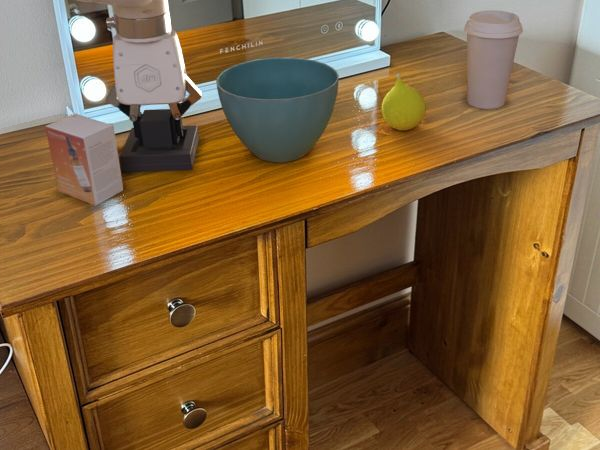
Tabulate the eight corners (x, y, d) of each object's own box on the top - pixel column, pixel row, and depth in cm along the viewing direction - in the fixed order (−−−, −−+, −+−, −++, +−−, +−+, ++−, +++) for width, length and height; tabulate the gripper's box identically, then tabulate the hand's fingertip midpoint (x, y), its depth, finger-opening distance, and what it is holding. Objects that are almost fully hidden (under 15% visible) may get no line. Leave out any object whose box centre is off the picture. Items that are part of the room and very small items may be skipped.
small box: (57, 192, 111) (43, 125, 105) (87, 177, 114) (74, 111, 109) (95, 207, 107) (82, 138, 101) (125, 190, 110) (113, 123, 105)
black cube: (173, 147, 117) (169, 120, 115) (143, 148, 117) (139, 121, 115) (176, 135, 121) (173, 108, 118) (148, 136, 121) (144, 109, 118)
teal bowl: (214, 135, 126) (207, 64, 120) (321, 121, 130) (319, 51, 123) (234, 185, 111) (227, 106, 104) (354, 167, 114) (354, 90, 108)
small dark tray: (192, 170, 115) (190, 153, 114) (122, 172, 115) (119, 156, 114) (199, 140, 125) (197, 125, 123) (134, 142, 125) (131, 127, 123)
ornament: (390, 117, 130) (392, 60, 125) (430, 123, 127) (434, 66, 122) (374, 133, 125) (375, 74, 120) (415, 140, 122) (418, 80, 117)
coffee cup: (519, 111, 130) (530, 24, 123) (463, 113, 131) (470, 26, 123) (507, 91, 139) (516, 8, 131) (454, 92, 139) (460, 9, 131)
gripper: (78, 34, 106) (100, 153, 116) (200, 30, 106) (212, 149, 116) (90, 19, 112) (110, 133, 122) (205, 15, 112) (216, 129, 122)
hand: (160, 139), depth 119 cm, fingers closed on black cube, 4 cm apart
